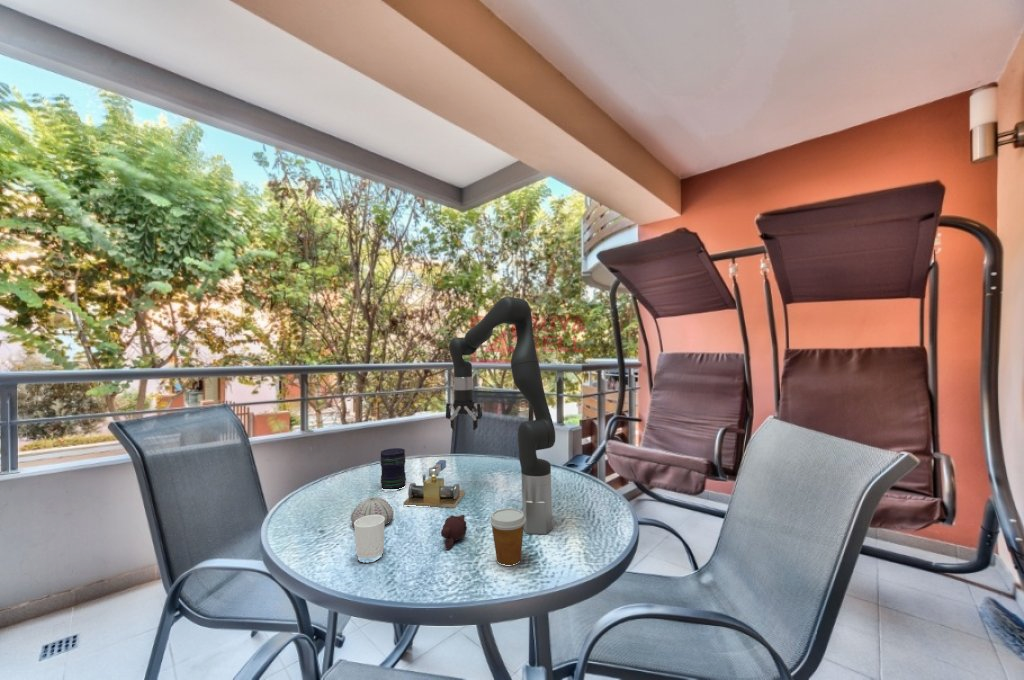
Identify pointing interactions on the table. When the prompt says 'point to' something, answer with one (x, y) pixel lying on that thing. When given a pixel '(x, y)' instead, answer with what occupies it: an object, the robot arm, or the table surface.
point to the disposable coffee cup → (508, 534)
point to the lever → (437, 468)
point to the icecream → (453, 529)
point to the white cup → (369, 536)
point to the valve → (434, 493)
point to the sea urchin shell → (373, 509)
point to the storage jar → (393, 468)
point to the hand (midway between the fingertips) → (464, 429)
